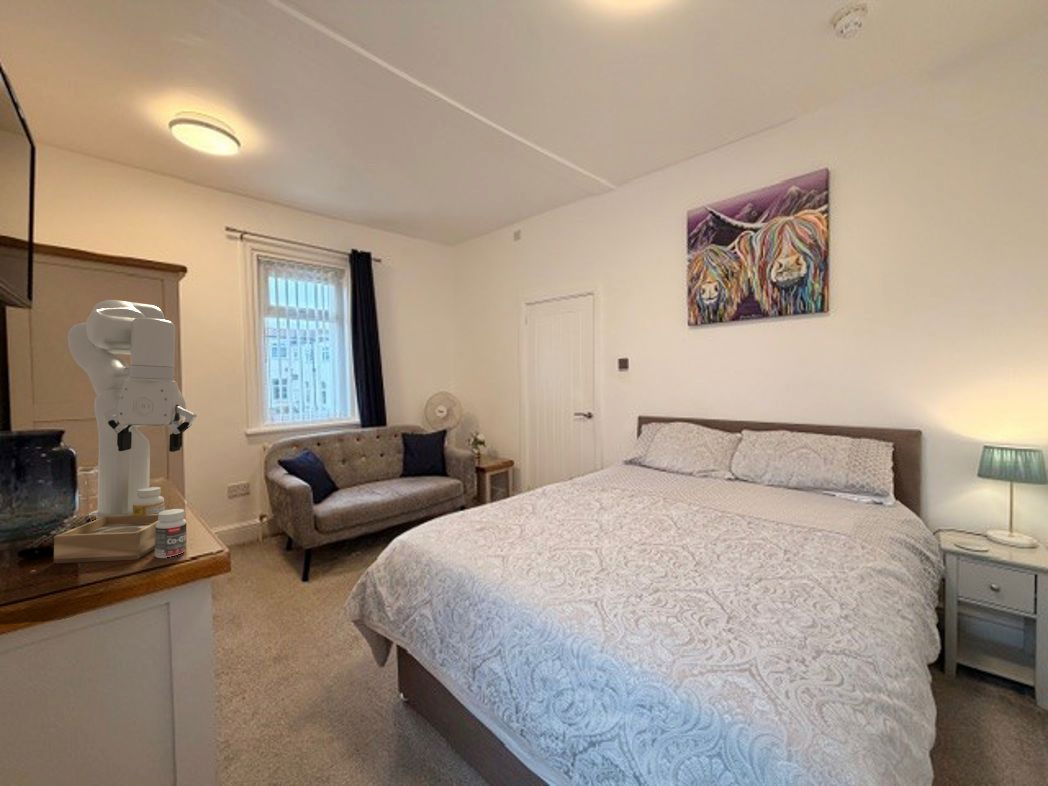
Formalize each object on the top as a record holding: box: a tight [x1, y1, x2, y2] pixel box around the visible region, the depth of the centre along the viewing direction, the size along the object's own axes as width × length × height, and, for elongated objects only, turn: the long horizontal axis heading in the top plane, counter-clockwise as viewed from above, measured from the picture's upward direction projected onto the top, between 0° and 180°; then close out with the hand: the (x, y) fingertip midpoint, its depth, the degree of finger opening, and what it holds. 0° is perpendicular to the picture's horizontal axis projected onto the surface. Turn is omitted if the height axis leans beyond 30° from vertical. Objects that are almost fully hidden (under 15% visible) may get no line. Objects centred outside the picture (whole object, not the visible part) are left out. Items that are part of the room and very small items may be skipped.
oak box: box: [53, 514, 160, 564], centre depth 87 cm, size 13×13×5 cm
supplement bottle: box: [133, 486, 165, 515], centre depth 98 cm, size 5×5×10 cm
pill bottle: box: [154, 508, 187, 559], centre depth 85 cm, size 5×5×8 cm
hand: (150, 450), depth 97 cm, fingers open, 9 cm apart
